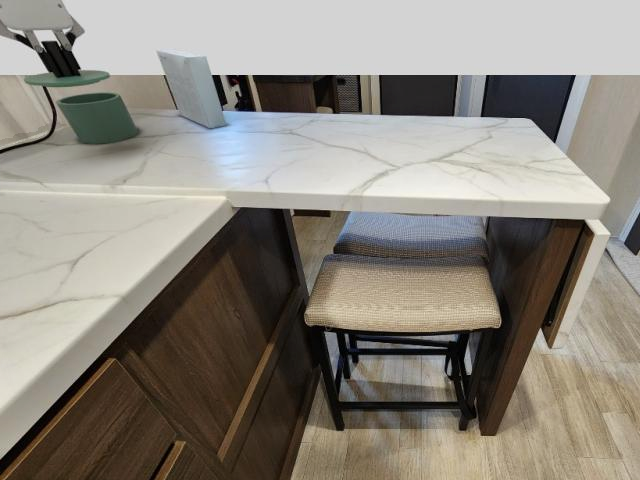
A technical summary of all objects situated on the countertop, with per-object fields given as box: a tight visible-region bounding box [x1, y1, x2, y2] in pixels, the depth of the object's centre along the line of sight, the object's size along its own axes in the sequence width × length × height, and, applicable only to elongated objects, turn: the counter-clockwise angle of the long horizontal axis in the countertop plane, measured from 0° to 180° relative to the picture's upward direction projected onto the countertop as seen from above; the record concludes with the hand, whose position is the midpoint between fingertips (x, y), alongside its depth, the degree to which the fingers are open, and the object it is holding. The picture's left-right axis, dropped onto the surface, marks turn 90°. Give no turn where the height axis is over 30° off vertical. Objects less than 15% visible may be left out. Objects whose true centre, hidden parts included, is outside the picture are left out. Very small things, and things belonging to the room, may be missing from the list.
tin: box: [55, 91, 139, 145], centre depth 82 cm, size 13×13×8 cm
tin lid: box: [23, 40, 111, 88], centre depth 64 cm, size 14×14×7 cm
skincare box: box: [156, 49, 227, 129], centre depth 91 cm, size 21×6×16 cm, turn 47°
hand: (67, 74), depth 66 cm, fingers closed on tin lid, 2 cm apart
